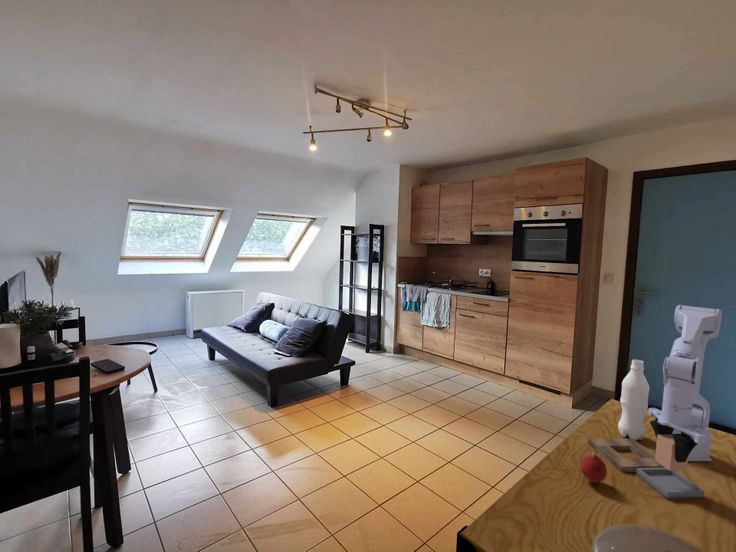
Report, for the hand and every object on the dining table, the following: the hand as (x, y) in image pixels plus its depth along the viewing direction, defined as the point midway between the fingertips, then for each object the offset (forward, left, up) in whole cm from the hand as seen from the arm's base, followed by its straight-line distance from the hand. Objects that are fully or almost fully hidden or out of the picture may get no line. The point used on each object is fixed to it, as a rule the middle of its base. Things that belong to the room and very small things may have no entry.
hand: (671, 455), depth 95 cm
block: (0, 0, -3) cm, 3 cm away
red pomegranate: (+19, -2, -8) cm, 21 cm away
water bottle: (-9, -24, -8) cm, 27 cm away
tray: (0, 0, -8) cm, 8 cm away
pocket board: (+1, -13, -8) cm, 15 cm away
